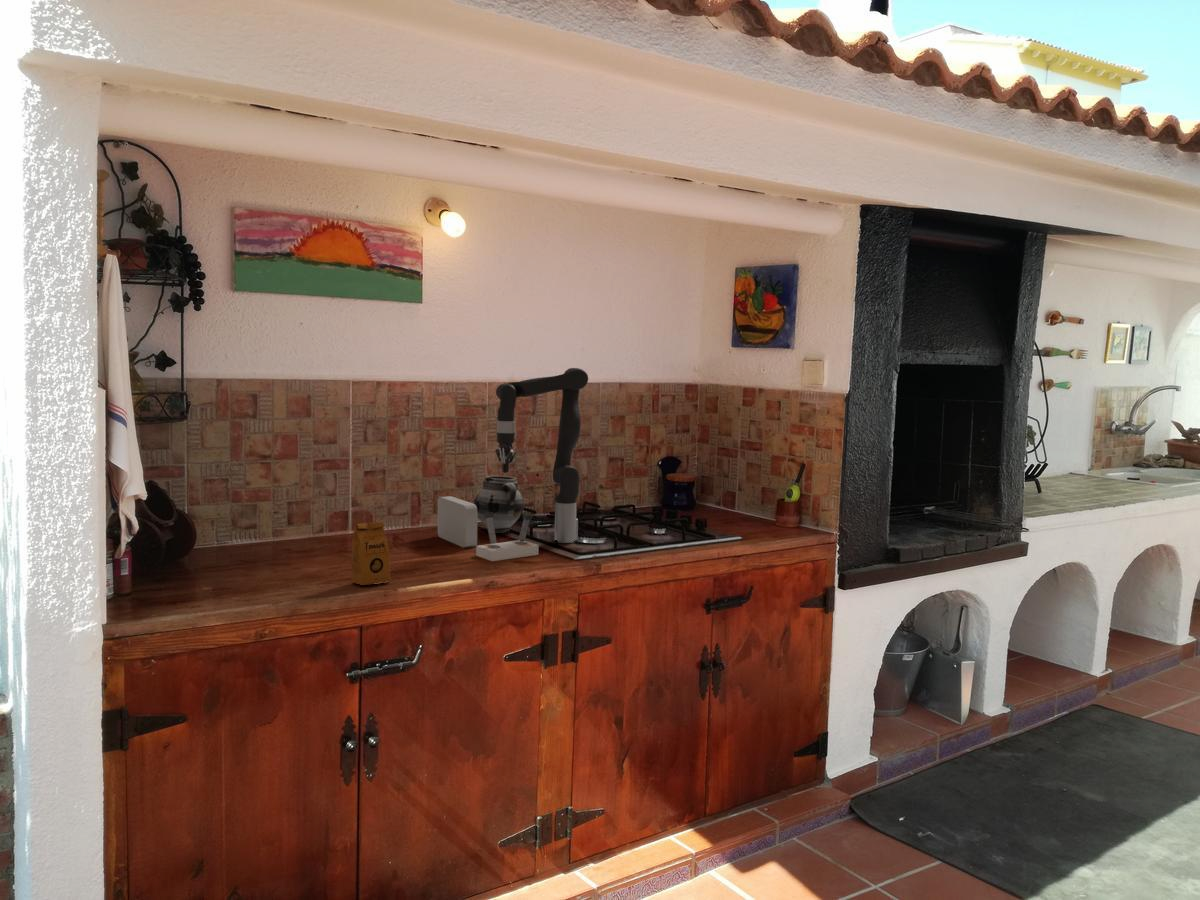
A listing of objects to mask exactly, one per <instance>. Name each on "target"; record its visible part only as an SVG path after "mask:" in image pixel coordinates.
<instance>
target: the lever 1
mask: <svg viewBox="0 0 1200 900" xmlns="http://www.w3.org/2000/svg"><path fill="white" fill-rule="evenodd" d="M492 517H494V514H493V512H488V513H485V514H484V519H486V521H487V527H488V531H487V532H488V538H489V544H495V543H498V541H497V537H496V533H495V530H494V524H493V518H492ZM487 527H486V528H487Z"/></svg>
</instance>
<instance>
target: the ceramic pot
mask: <svg viewBox="0 0 1200 900" xmlns="http://www.w3.org/2000/svg"><path fill="white" fill-rule="evenodd" d="M473 504H475V505H476V507H477V519H479V521H480V522H481V523H482V525H484V526H485V527H486V529H487V532H488V527H487V521H486V519H484V514H485V513H488V512H493V514H494V517H492V518H493V524H494V530H495V534H496V533H497V534H498V533H499V534H500V533H501V534H503V533H504V534H505V533H508V532H510V530H511V529H510V528H511V527H512V526H513V525H514V524H515V523H516V522H517V521H518V520H519V519H520V516H521V515H522V514H523V513H524V512H523V511H524V509H525V501H524V498H523V496H522V494H521V492H520V491H519V489H518V480H517V478H516V477H513V476H510V475H509V476H508V475H487V476H486V477H485V479H484V480H483V482H482V488H481V490H479V491H478V493H477V494H476V495H475V497H474V500H473ZM507 531H508V532H507Z"/></svg>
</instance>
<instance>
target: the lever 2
mask: <svg viewBox="0 0 1200 900" xmlns="http://www.w3.org/2000/svg"><path fill="white" fill-rule="evenodd" d="M533 517H534V514H532V513H531V512H530V511H527V512H522V518H523V521H522V525H521V528H520V532H519V536H518V539H517V541H518V540H519V541H520V542H521V541H526V536H527V532H528V529H529V526H530V521H531V520H533Z"/></svg>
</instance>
